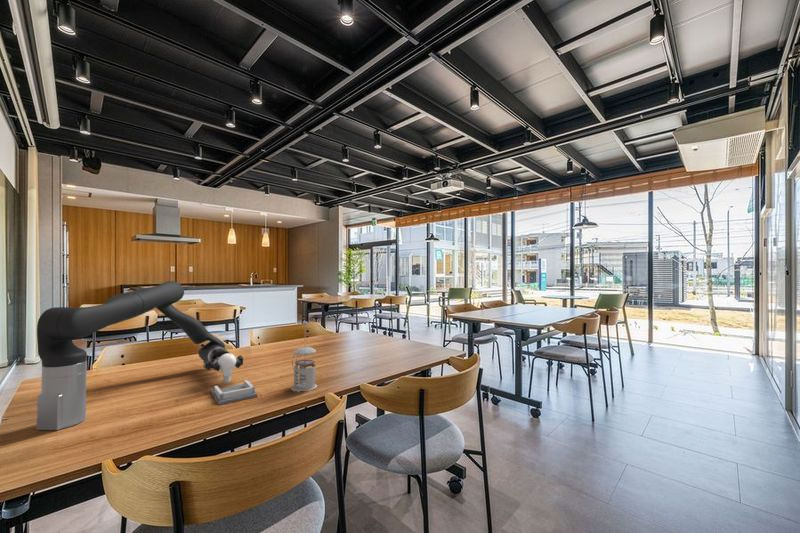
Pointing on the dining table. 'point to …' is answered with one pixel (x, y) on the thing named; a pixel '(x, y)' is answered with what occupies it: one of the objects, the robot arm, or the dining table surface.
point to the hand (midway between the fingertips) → (228, 366)
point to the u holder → (234, 393)
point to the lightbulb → (227, 366)
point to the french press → (304, 369)
